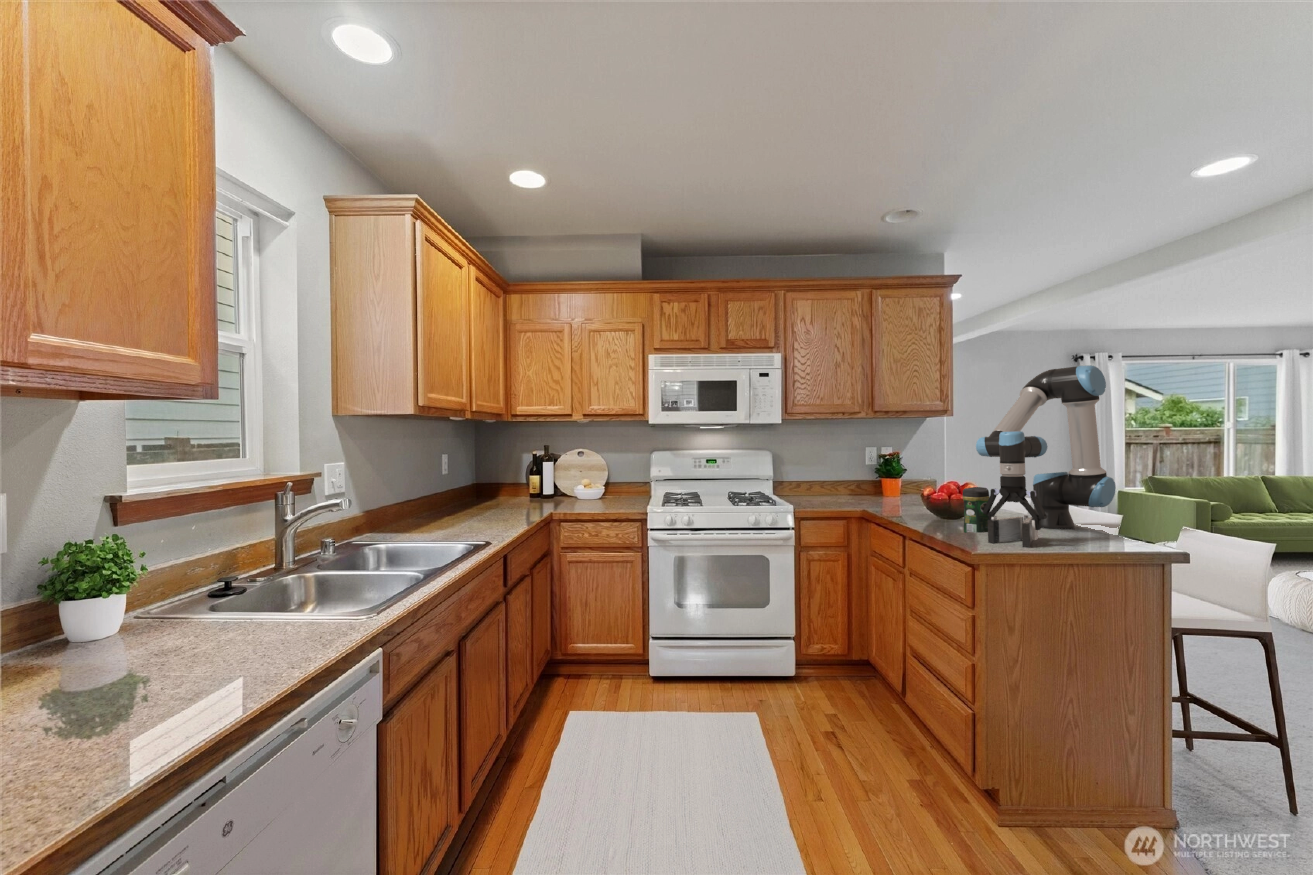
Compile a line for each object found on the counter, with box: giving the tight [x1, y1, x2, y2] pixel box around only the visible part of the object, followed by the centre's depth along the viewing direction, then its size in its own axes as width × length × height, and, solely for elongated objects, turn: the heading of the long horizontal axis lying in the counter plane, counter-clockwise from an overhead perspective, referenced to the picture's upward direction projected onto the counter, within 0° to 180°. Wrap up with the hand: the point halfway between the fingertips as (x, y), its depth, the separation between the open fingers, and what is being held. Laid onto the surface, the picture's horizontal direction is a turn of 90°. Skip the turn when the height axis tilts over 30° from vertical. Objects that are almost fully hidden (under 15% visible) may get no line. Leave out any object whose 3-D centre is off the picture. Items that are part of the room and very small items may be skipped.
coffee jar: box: [962, 486, 990, 534], centre depth 222 cm, size 10×8×19 cm
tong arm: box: [987, 516, 1024, 544], centre depth 200 cm, size 16×2×8 cm, turn 113°
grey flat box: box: [1021, 514, 1034, 549], centre depth 195 cm, size 18×3×9 cm, turn 141°
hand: (1014, 537), depth 195 cm, fingers open, 12 cm apart
